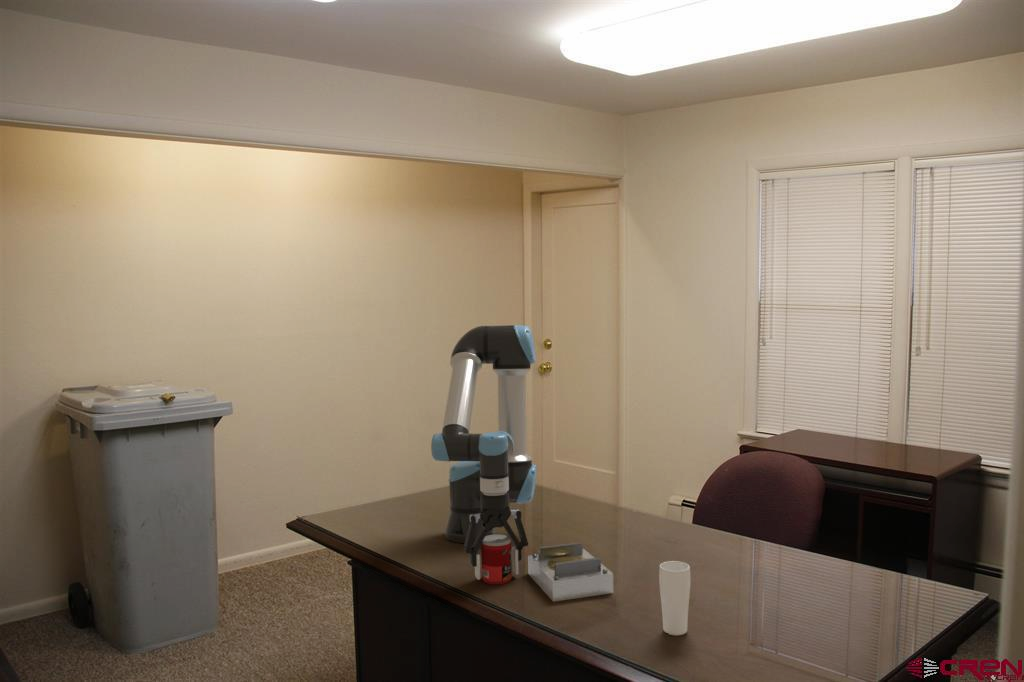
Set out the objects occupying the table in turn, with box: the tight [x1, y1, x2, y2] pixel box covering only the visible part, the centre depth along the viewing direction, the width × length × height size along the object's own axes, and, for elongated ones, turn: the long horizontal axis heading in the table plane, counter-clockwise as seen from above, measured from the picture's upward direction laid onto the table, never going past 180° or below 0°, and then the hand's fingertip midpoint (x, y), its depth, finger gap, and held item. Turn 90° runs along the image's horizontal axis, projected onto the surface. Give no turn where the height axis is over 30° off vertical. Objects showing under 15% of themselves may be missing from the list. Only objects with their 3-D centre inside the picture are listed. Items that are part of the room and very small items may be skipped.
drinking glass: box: [658, 560, 691, 636], centre depth 184 cm, size 7×7×15 cm
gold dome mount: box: [527, 541, 614, 602], centre depth 214 cm, size 20×16×8 cm
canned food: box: [480, 534, 513, 585], centre depth 218 cm, size 8×8×11 cm
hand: (496, 575), depth 218 cm, fingers open, 10 cm apart
